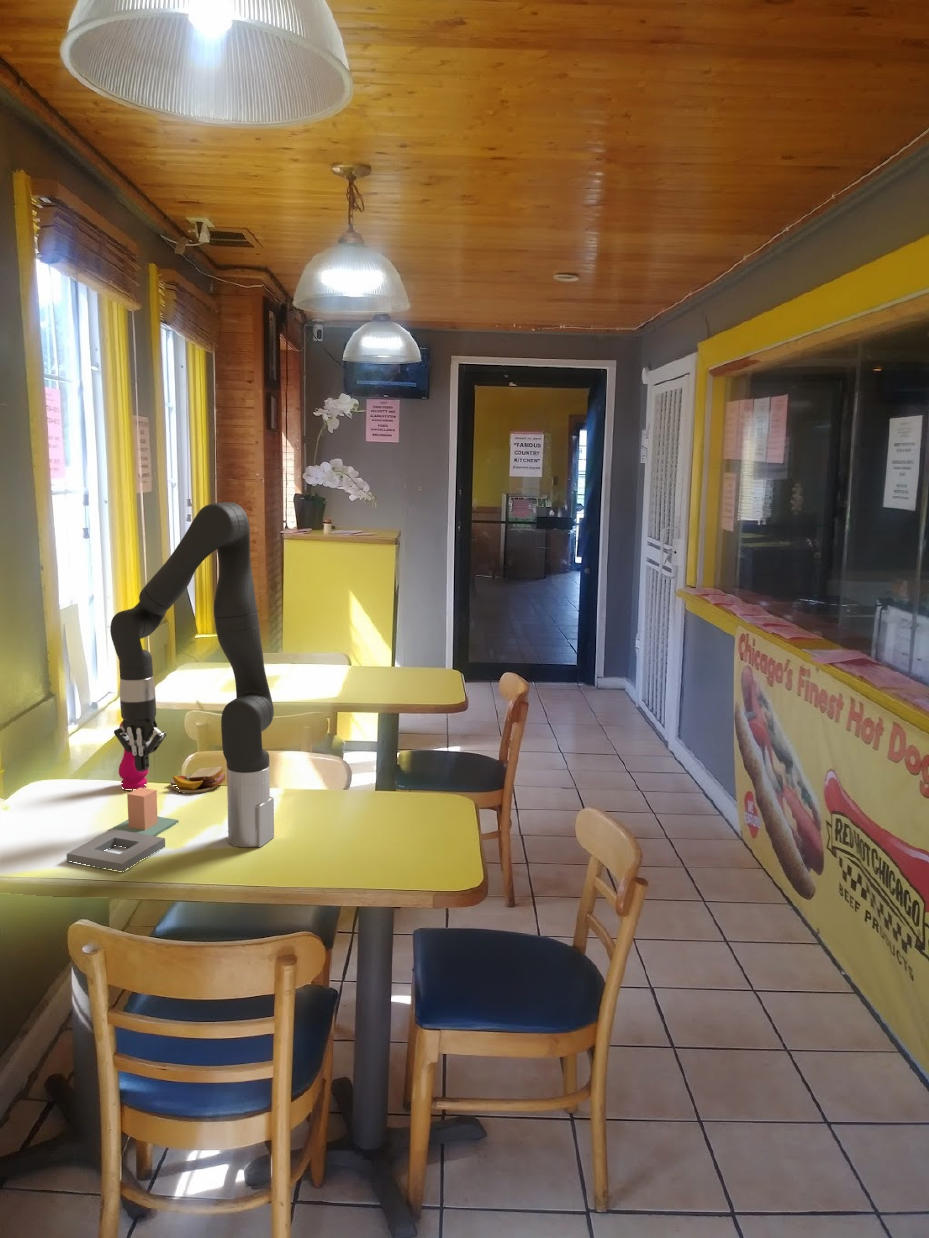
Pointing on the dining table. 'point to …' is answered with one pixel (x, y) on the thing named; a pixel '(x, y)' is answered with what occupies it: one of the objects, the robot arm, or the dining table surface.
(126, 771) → the pepper mill
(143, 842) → the pocket plate
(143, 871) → the dining table surface
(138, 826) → the terracotta block
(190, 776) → the toy sandwich meal
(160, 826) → the rubber pad
